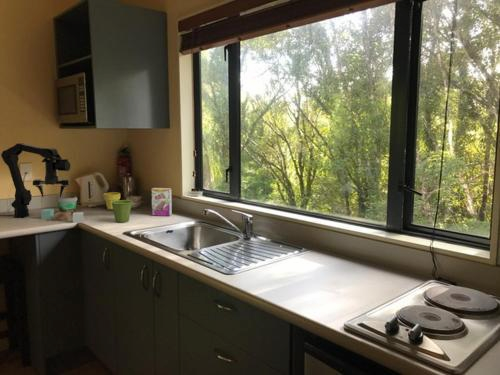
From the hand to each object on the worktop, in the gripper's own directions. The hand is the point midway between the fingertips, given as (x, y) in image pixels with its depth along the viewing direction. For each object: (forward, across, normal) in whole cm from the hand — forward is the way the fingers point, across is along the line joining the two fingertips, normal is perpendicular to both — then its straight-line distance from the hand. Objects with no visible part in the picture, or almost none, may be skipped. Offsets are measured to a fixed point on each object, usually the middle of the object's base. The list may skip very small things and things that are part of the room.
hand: (51, 197), depth 244 cm
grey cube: (+12, +15, -16) cm, 25 cm away
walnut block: (+12, +6, -7) cm, 15 cm away
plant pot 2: (+11, +39, -22) cm, 46 cm away
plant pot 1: (+12, +33, +22) cm, 41 cm away
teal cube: (+12, -2, -1) cm, 12 cm away
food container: (+12, +9, +9) cm, 17 cm away
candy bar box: (+10, +62, -10) cm, 63 cm away
